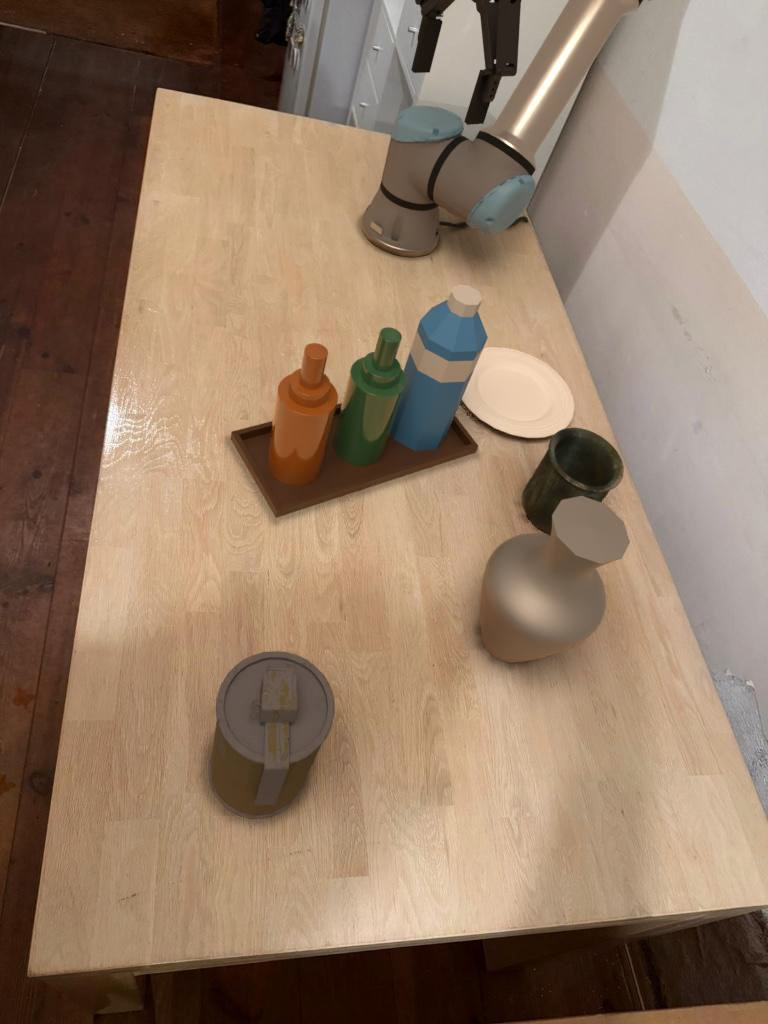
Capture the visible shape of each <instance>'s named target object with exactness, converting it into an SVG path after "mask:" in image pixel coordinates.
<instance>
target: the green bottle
mask: <svg viewBox="0 0 768 1024" xmlns="http://www.w3.org/2000/svg"><path fill="white" fill-rule="evenodd" d="M402 338H403V337H402V333H401V332H400V331H399V330H398V329H396V328H394V327H388V326H386V327H383V328H381V329H380V331H379V334H378V337H377V341H376V345H375V347H374V348H375V349H374V351H371V352H369V353H367V354H366V355H364V356H363V357H360V358H358V359H356V360H355V361H354V362H353V363H352V365H351V367H350V370H349V374H348V379H347V382H346V386H345V390H344V393H343V394H344V395H343V397H342V402H341V403H342V406H341V410H340V414H339V418H338V422H337V426H336V429H335V433H334V437H333V447H334V450H335V452H336V453H337V454H338V456H339V457H340V458H342V459H343V460H345V461H346V462H348V463H351V464H354V465H360V466H366V465H371V464H374V463H375V462H377V461H378V460H379V459H380V458H381V457H382V455H383V452H384V449H385V447H386V444H387V441H388V438H389V435H390V432H391V429H392V426H393V423H394V420H395V417H396V414H397V411H398V408H399V405H400V402H401V399H402V396H403V393H404V390H405V387H406V384H407V379H406V375H405V373H404V369H403V368H402V366H401V363H400V361H399V359H397V355H398V352H399V349H400V345H401V342H402Z"/></svg>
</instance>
